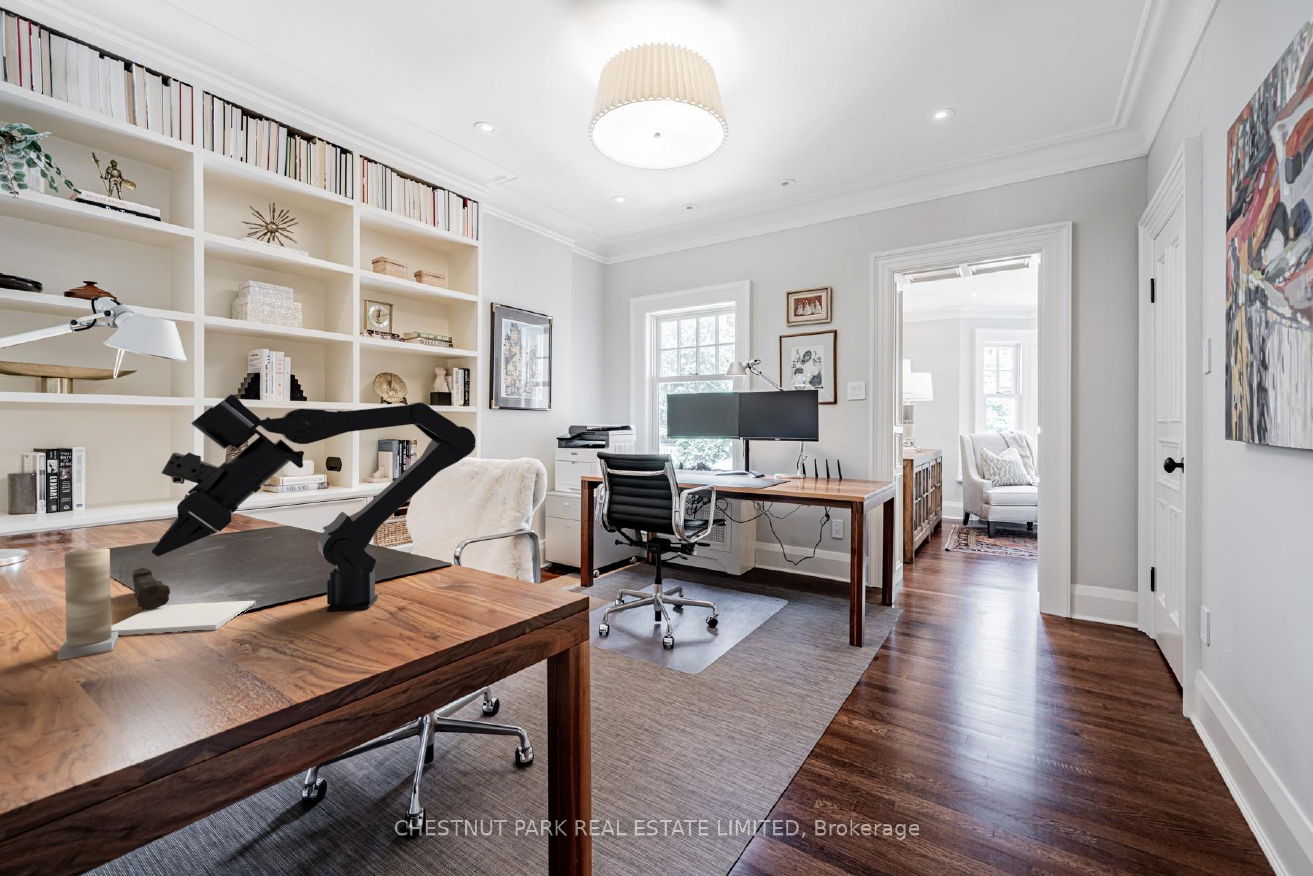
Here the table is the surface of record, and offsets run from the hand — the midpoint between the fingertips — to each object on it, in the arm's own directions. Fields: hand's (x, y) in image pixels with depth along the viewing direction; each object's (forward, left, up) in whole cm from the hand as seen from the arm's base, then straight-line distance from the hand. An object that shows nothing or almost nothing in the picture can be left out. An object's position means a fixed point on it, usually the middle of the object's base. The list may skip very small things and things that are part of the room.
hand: (158, 548), depth 83 cm
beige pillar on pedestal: (+7, +3, -13) cm, 15 cm away
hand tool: (+13, -19, -13) cm, 26 cm away
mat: (+1, -8, -13) cm, 15 cm away
